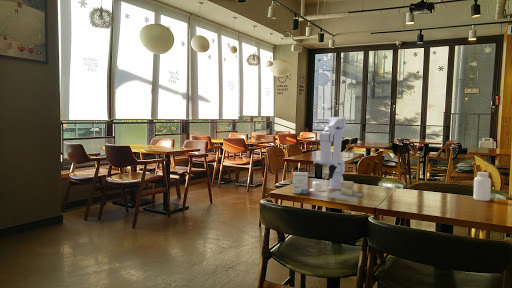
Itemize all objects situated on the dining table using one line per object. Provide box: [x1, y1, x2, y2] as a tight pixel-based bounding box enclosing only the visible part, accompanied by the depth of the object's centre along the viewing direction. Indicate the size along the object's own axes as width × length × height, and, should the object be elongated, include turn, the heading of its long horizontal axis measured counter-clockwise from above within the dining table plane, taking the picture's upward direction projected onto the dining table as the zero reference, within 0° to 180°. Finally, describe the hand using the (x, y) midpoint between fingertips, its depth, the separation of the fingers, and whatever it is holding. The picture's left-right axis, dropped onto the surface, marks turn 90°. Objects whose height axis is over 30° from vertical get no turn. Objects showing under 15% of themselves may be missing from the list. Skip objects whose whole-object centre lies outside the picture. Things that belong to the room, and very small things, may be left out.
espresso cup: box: [309, 181, 325, 192], centre depth 231 cm, size 9×9×5 cm
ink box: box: [292, 171, 309, 195], centre depth 223 cm, size 9×5×12 cm, turn 84°
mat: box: [324, 190, 364, 201], centre depth 216 cm, size 20×16×1 cm
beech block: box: [340, 180, 355, 195], centre depth 219 cm, size 4×6×7 cm, turn 60°
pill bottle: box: [472, 171, 492, 202], centre depth 212 cm, size 8×8×15 cm
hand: (324, 177), depth 216 cm, fingers open, 7 cm apart
